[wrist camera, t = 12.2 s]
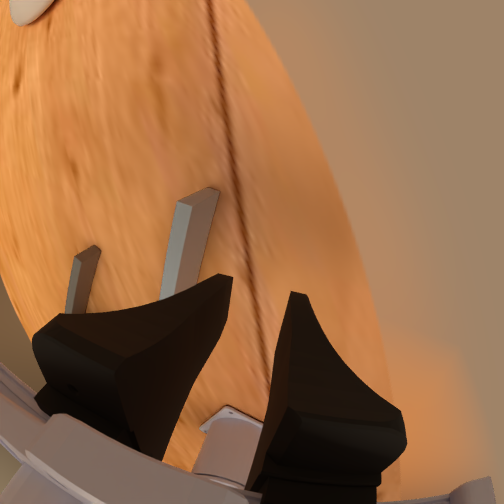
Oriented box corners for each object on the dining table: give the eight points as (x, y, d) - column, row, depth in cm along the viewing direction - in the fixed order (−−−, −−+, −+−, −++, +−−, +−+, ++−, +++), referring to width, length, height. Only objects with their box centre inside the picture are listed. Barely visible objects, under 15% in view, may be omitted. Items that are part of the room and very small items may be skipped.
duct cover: (191, 315, 25) (167, 349, 20) (179, 310, 25) (153, 343, 21) (222, 192, 20) (195, 207, 16) (207, 187, 20) (176, 201, 16)
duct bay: (183, 311, 25) (168, 330, 23) (142, 380, 31) (131, 396, 28) (94, 244, 25) (74, 256, 22) (75, 327, 31) (61, 340, 28)
